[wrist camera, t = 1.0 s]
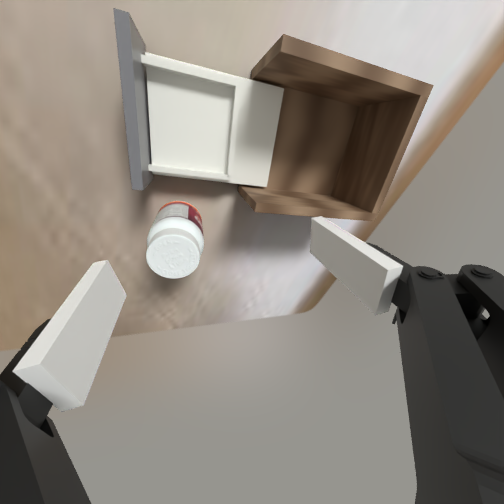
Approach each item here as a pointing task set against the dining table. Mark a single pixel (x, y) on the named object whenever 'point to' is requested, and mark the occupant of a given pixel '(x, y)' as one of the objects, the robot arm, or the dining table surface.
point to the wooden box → (334, 132)
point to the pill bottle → (175, 240)
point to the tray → (193, 117)
